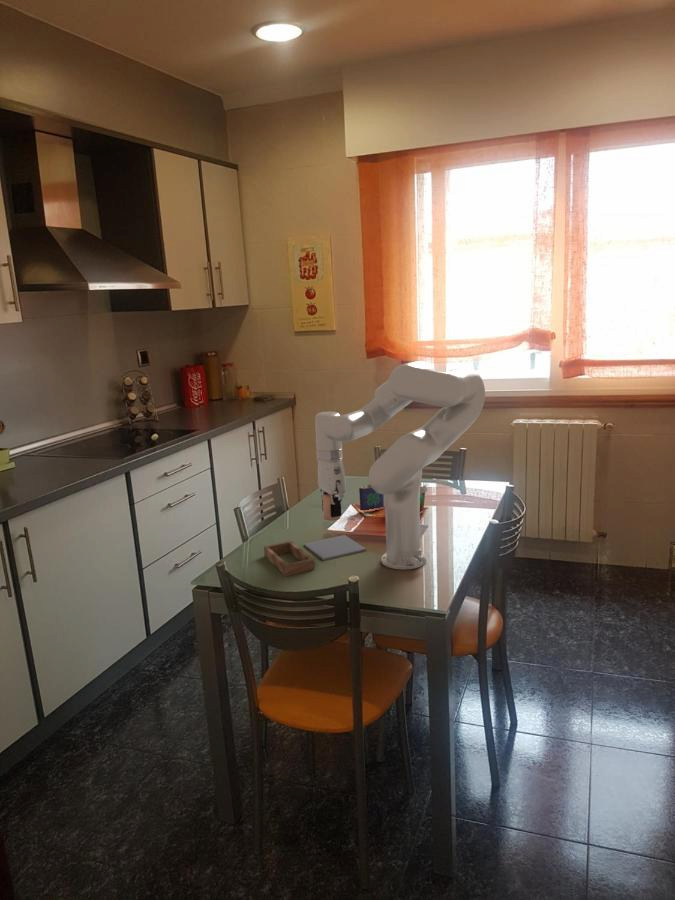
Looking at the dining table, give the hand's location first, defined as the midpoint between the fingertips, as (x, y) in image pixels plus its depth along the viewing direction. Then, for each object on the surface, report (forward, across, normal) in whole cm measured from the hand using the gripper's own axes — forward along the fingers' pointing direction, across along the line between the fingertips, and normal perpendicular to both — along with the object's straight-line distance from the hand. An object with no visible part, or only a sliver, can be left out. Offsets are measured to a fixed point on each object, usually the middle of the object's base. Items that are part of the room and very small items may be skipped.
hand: (331, 513), depth 195 cm
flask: (+11, +25, -27) cm, 38 cm away
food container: (+11, +14, -35) cm, 39 cm away
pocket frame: (+11, -3, +16) cm, 20 cm away
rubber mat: (+11, 0, 0) cm, 11 cm away
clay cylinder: (+1, 0, 0) cm, 1 cm away
